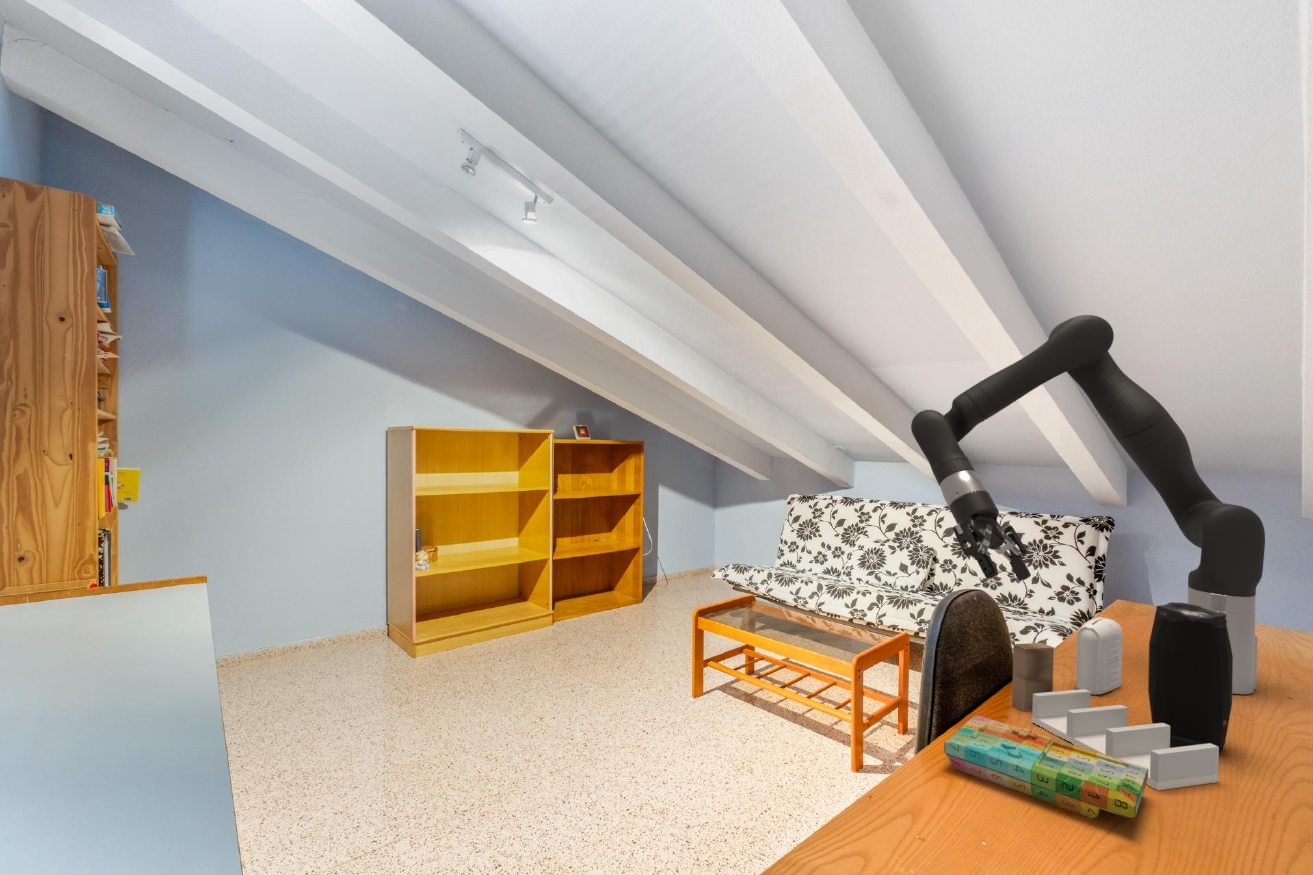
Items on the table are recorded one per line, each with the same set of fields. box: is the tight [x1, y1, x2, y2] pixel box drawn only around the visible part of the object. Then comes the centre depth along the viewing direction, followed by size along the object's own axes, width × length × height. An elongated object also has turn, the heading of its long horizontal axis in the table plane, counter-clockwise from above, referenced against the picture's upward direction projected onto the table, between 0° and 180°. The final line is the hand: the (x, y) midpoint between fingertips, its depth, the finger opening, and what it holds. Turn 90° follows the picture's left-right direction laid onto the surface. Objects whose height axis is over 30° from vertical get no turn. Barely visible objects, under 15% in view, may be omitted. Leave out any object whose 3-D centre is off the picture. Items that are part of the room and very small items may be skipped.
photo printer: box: [1075, 617, 1124, 696], centre depth 112 cm, size 10×4×12 cm, turn 123°
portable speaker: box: [1147, 601, 1233, 751], centre depth 91 cm, size 9×9×20 cm
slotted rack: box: [1031, 689, 1220, 791], centre depth 88 cm, size 10×19×4 cm, turn 14°
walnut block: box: [1011, 642, 1055, 712], centre depth 103 cm, size 6×2×10 cm, turn 104°
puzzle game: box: [943, 715, 1149, 819], centre depth 79 cm, size 12×5×20 cm
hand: (1009, 577), depth 111 cm, fingers open, 8 cm apart
